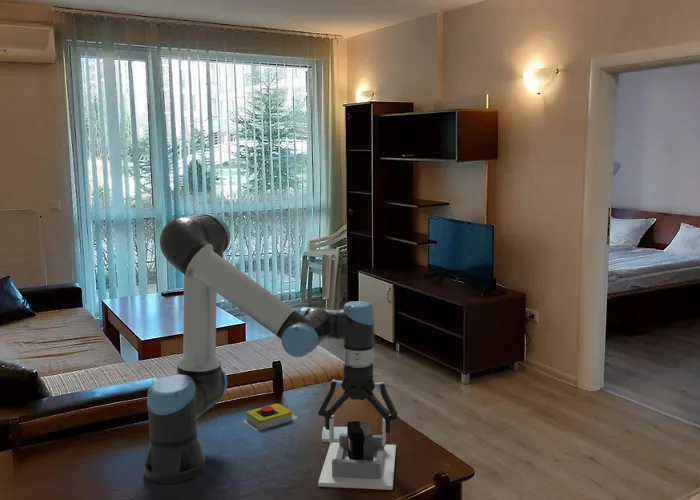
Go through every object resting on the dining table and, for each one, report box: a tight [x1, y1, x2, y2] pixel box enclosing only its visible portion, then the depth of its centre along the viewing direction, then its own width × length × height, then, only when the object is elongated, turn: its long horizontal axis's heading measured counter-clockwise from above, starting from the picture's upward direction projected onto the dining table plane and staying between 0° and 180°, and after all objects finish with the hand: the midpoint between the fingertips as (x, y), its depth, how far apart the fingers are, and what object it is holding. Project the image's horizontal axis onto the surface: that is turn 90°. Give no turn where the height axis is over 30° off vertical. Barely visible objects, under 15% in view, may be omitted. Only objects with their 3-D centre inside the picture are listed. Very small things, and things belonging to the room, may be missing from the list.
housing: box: [317, 434, 397, 491], centre depth 163 cm, size 18×22×5 cm
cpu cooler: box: [346, 420, 374, 460], centre depth 163 cm, size 10×6×10 cm, turn 8°
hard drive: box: [320, 426, 347, 443], centre depth 182 cm, size 2×8×12 cm
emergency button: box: [242, 403, 299, 432], centre depth 193 cm, size 9×4×15 cm
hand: (357, 442), depth 163 cm, fingers open, 13 cm apart
